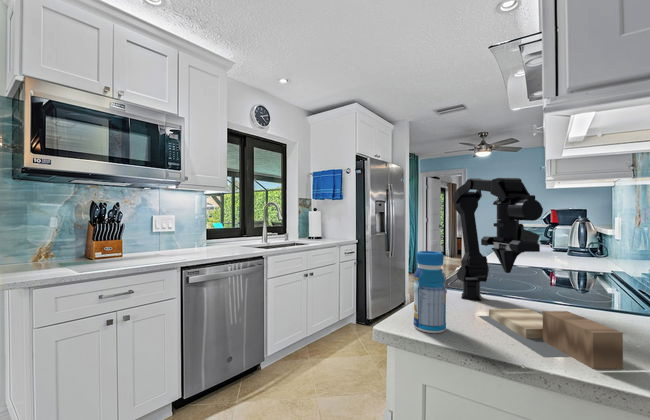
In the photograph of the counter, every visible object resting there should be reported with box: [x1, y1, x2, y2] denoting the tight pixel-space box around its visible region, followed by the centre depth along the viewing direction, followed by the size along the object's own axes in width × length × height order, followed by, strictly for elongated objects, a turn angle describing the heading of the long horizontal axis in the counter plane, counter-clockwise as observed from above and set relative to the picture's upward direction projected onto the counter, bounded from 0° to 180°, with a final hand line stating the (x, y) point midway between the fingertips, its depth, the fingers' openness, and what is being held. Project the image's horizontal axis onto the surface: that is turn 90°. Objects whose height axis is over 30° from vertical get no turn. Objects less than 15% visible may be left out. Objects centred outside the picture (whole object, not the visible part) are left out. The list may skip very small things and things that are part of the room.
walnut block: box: [542, 310, 624, 370], centre depth 66 cm, size 7×6×13 cm
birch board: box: [488, 308, 543, 338], centre depth 81 cm, size 16×12×2 cm
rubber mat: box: [477, 315, 572, 358], centre depth 77 cm, size 26×15×1 cm, turn 2°
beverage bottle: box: [412, 250, 448, 334], centre depth 80 cm, size 8×8×20 cm
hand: (507, 272), depth 90 cm, fingers closed
